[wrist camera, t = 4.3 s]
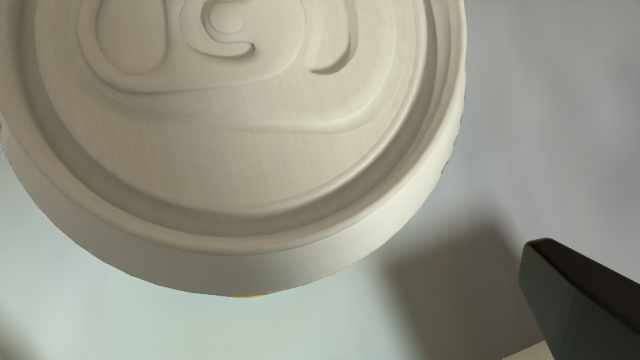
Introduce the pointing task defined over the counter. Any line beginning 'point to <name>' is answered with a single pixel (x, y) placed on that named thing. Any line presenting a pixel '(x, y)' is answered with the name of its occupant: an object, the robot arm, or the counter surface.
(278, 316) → the counter surface
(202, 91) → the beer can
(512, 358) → the cream plastic block
